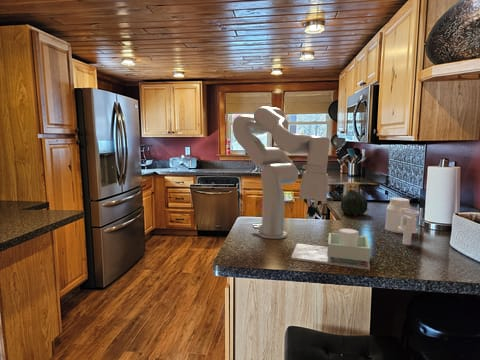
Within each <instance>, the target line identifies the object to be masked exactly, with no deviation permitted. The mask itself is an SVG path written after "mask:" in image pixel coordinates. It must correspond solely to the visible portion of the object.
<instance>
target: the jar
mask: <svg viewBox="0 0 480 360" xmlns="http://www.w3.org/2000/svg"><path fill="white" fill-rule="evenodd" d="M389 200H390V201H389V203H388V205H387V207H386V211H385V212H386V216H385V226H384V229H385V231H389V232H390V233H391V232H392V233H397V234H403V232H401V231H399V230H398V227H399V226H401V218H402V217H400V210H401V208H408V209H409V210H413V209H412V207H411V206H410V199H408V198H405V197H390V199H389ZM408 213H410V212H408Z"/></svg>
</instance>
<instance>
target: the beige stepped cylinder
mask: <svg viewBox="0 0 480 360" xmlns="http://www.w3.org/2000/svg"><path fill="white" fill-rule="evenodd" d="M408 212H410V213H408ZM417 216H420V211H419V210H415V209H412V210H409V209H408V208H401V210H400V217H402V218H401V226H399V227H398V230H399V231H401V232H403V233H402V234H403V235H402V244H403V245H405V246H411V245H412V237H413V236H412V234H418V231H419V230H418V228H417V227H416V226H417V220H418V219H417Z"/></svg>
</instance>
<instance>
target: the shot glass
mask: <svg viewBox="0 0 480 360" xmlns="http://www.w3.org/2000/svg"><path fill="white" fill-rule="evenodd" d="M338 234H339V244H340V245H349V246H357V241H358V236H360V231H359V230H356V229H354V228H347V227H343V228H342V227H341V228H339V229H338Z"/></svg>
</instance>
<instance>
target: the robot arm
mask: <svg viewBox="0 0 480 360" xmlns="http://www.w3.org/2000/svg"><path fill="white" fill-rule="evenodd" d="M288 129H289V121H288V119H286V117H285V113H284V111H283V110H282V109H281V108H278V107H273V106H272V107H271V106H260V107H258V108H255V111H254V112H253V115H251V114H250V115H249V114H241V115H238V116H236V117H235V119H233V122H232V133H233V136H234V139H235V140H236V142H237V143H238V145H240V147H242V149H243V150H244V151H245V152H246V154H247V156H248V157H249V159H250V160H251V161H252V162H253V164H254V165H255V166H256V167H257V168H259V169H261V172H260V180H261V184H262V208H261V209H262V213H261V216H262V217H261V223H260V224H258V223H253V224H252V228H253V230H258V232H257V235H258V236H259V237H261V238H264V239H267V240H269V239H270V240H281V239H284V238H286V237H288V232H287V231H286V230H284V229H285V227H284V224H285V223H284V222H285V221H284V220H285V203H286V202H285V198H286V197H285V192H284V189H283V188H282V186H284V185H285V186H287V185H291V184H294V183H296V181H297V180H298V179H299V171H298V168H297V166H296V165H295V163H294V162H293V161H292V160H291V159H290V157H289V156H288V155H287V154H286V153H288V154H291V155H292V154H293V155H299V154H305V155H306V154H307V156H306V164H302V167H301V168H302V169H304V170H305V171H303V172H302V176H301V182H300V188H299V195H298V196H299V197H298V200H299V201H302V202H304V203H305V204H306V205H307V206H306V207H307V212H306V213H307V215H308V217H309V218H313V217H314V216H316V212H317V207H318V206H320V205H321V204H323V205H324V204H327V203H328V193H329V174H328V173H327V169H328V160H329V152H330V143H331V141H330V140H331V139H330V138H329V137H327V136H322V135H321V136H320V135H313V134H306V133H293V132H290V131H289V130H288ZM265 133H269V134H271V135H272V136H271V137H272V140H273V141H274V144H275V145H276V146H278V147H276V146H274V147H273V146H271V147H270V146H266V145H264V143H263V142H262V140H261V139H260V138H259V137H257V136H256V134H258V135H261V134H265ZM254 134H255V135H254ZM285 152H286V153H285ZM312 201H313V203H312Z"/></svg>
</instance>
